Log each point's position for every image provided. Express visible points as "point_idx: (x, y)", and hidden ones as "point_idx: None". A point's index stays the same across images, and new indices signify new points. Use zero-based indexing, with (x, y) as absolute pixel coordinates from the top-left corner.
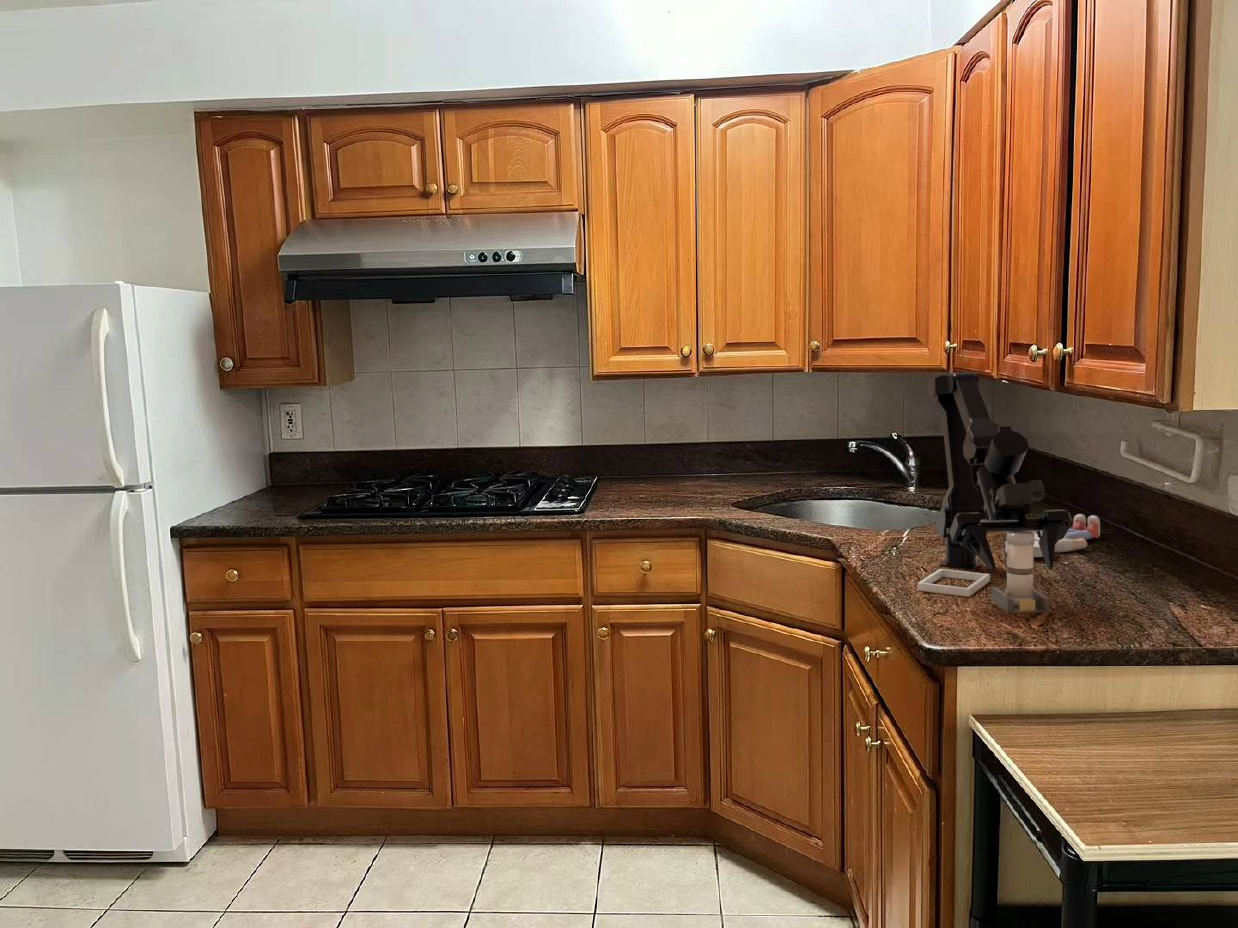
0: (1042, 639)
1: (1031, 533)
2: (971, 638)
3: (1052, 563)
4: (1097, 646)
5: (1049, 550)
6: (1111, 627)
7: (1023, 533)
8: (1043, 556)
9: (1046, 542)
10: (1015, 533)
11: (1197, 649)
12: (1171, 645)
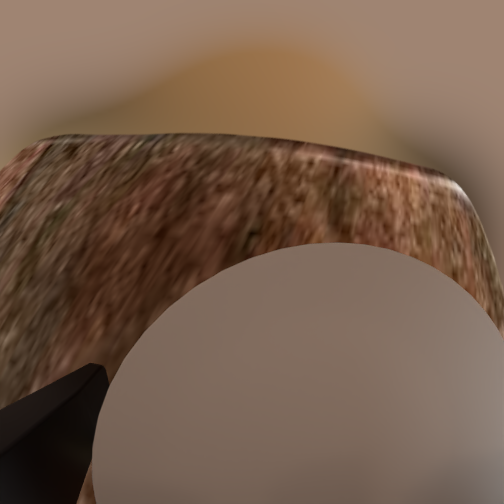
0: (284, 186)
1: (150, 433)
2: (417, 214)
3: (83, 368)
4: (197, 145)
5: (39, 412)
6: (89, 241)
7: (312, 468)
8: (76, 495)
9: (6, 481)
10: (444, 456)
11: (66, 134)
12: (81, 146)
